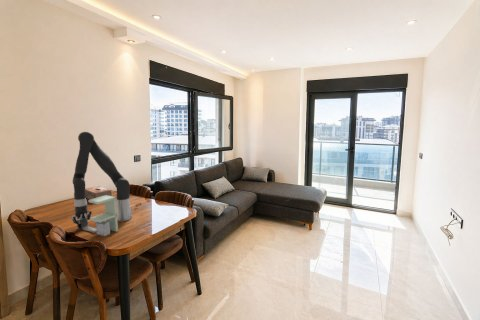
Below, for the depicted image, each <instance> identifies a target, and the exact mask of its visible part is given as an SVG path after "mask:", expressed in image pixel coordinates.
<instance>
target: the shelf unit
mask: <svg viewBox="0 0 480 320" xmlns="http://www.w3.org/2000/svg"><path fill="white" fill-rule="evenodd" d="M87 203H90V204H95V205H102V204H104V211H105V212H102V213H101V214H97V215H94V216H92V217H90V220H89V221H92V222H95V223H96V222H99V223H100V222H103V221H106V222H109V226H110V231H112V232H118V231H119V226H118V225H119V222H118V212H117V198H116V196H113V195H112V196H108V195H104V196H101V197H97V198H94V199H90V200H88V199H87Z"/></svg>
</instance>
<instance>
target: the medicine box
mask: <svg viewBox="0 0 480 320" xmlns="http://www.w3.org/2000/svg"><path fill="white" fill-rule="evenodd" d="M95 228H96V232H97V233H96V235H98V236H103V237H107V236H108V235H111V230H110V226H109V222H106V220H105V221H103V222H100V223H99V222H95Z"/></svg>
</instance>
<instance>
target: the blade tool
mask: <svg viewBox="0 0 480 320" xmlns="http://www.w3.org/2000/svg"><path fill="white" fill-rule="evenodd" d="M80 224H81V228H80V229H79V228H78V227H77V229H78V230H80V231H81V230H83V231H86V232H90V233H92V234H97V232H96V227H92V226H89V225H87V219H85V218H82V219H81V221H80Z"/></svg>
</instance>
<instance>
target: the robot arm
mask: <svg viewBox="0 0 480 320" xmlns="http://www.w3.org/2000/svg"><path fill="white" fill-rule="evenodd" d="M77 137H78V138H77V139H78V142H79V150H78V155H77V158H76V161H75V167H74V174H73V177H72V184H73V191H74V192H73V198H74V199H73V200H74V202H73V204H74V212H75V213H74V215H72V216H70V218H71V220H72V223H74V224H75V225H77V226H76V227H77V229H78V228H79V229H78V230H81V229H80V228H81V224H80V221H81V219H82V218H85V219H87V226H89V223H88V221H91V220H90V218H91V216H92V211H91V210H89V211H88V199H86V193H85V189H86V181H85V178H86V177H85V176H86V173H87V171H88V165H89V157H90V155H91V157H92V158H93V160H94V161H95V163H96V164H97V165H98V167H99V168H100V169H101V170H102V171H103V172H104V173H105V174H106V175H107V176H108V177H109V178H110V179H111V181H112V183H113V185H114V186H115V188H116V196H115V197H116V209H117V222H127V221H130V220H131V219H132V218H133V215H132V206H131V201H130V200H131V199H130V195H131V193H130V192H131V190H130V186H131V185H130V182H129V180H128V179H126V178H125V177H124V176H123V175H122V174H121V173H120V172H119V171H118V169H117V167H116V164H115V163H114V162H113V159H111V157H110V156H109V155H108V154H107V153H106V152H105V151H104V150H103V149H102V148H101V147H100V145H98V143H97V142H96V140H95V137H94V135H93V134H92V133H91V132H89V131H82V132H80V133H79V134H78V136H77Z"/></svg>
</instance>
